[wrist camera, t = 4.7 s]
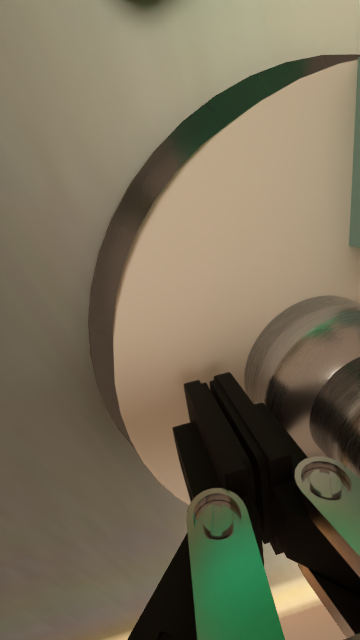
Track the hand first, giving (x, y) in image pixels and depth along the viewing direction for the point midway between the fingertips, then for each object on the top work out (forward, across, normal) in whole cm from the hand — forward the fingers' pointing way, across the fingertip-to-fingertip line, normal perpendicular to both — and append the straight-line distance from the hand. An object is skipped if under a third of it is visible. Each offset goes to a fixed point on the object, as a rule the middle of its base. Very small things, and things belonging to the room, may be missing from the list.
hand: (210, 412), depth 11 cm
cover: (+1, -5, 0) cm, 5 cm away
